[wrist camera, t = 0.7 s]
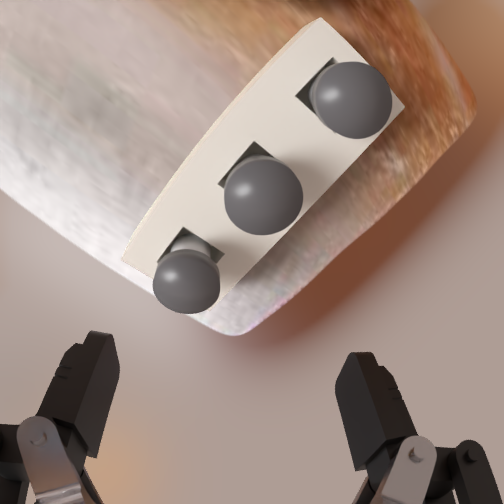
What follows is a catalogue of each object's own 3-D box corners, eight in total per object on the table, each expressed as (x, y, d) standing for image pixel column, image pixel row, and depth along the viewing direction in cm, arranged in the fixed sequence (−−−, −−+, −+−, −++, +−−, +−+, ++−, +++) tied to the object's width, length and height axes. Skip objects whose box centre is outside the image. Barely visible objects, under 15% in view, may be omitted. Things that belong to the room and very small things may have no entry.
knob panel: (210, 281, 35) (209, 311, 30) (133, 233, 31) (120, 259, 26) (378, 100, 26) (405, 107, 21) (303, 26, 22) (320, 17, 17)
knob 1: (198, 283, 30) (195, 322, 25) (152, 255, 28) (141, 293, 23) (231, 246, 28) (234, 283, 24) (183, 214, 26) (175, 247, 21)
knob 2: (330, 137, 24) (357, 154, 19) (283, 95, 22) (301, 100, 17) (371, 95, 22) (405, 103, 17) (327, 50, 20) (355, 45, 15)
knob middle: (258, 215, 27) (267, 248, 22) (210, 180, 25) (208, 207, 20) (299, 170, 25) (319, 195, 20) (251, 130, 23) (260, 145, 18)
